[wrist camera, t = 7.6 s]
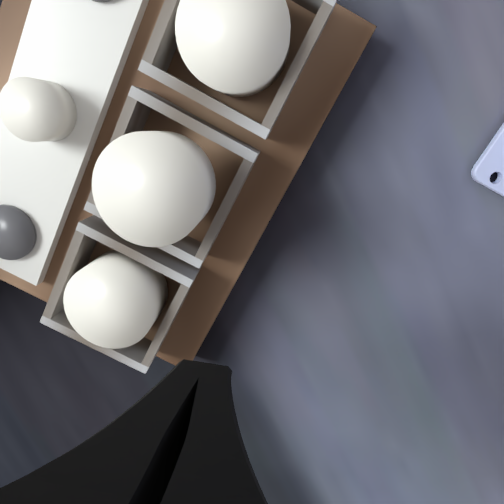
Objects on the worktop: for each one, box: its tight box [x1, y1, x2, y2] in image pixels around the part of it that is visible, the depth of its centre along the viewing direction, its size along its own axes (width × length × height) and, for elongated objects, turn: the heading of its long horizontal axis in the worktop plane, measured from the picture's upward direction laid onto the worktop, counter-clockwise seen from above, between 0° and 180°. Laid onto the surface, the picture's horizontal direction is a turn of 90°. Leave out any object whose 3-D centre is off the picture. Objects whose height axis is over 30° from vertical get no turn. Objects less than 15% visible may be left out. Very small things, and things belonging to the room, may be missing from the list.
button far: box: [63, 250, 168, 349], centre depth 18 cm, size 4×4×2 cm
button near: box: [175, 0, 291, 97], centre depth 15 cm, size 4×4×2 cm
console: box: [0, 0, 377, 374], centre depth 18 cm, size 14×18×4 cm
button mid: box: [92, 131, 216, 247], centre depth 15 cm, size 4×4×2 cm
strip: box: [0, 0, 149, 286], centre depth 17 cm, size 4×16×2 cm, turn 152°
